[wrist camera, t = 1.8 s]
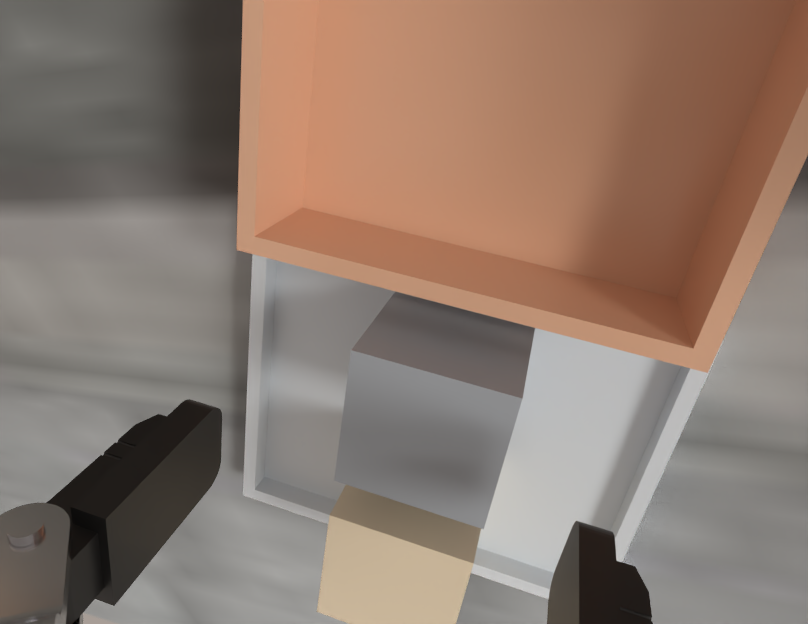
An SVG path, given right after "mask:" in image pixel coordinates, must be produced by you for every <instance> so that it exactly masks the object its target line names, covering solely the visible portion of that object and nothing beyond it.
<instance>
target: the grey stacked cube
mask: <svg viewBox="0 0 808 624" xmlns="http://www.w3.org/2000/svg"><path fill="white" fill-rule="evenodd" d="M534 331H535V328H534V327H530V326H526V325H522V324H518V323H514V322H511V321H507V320H503V319H499V318H495V317H491V316H488V315H484V314H480V313H476V312H472V311H468V310H465V309H461V308H457V307H453V306H449V305H446V304H442V303H438V302H434V301H430V300H426V299H423V298H419V297H415V296H411V295H407V294H403V293H400V292H396V291H395V293H394V294H393V295H392V297H391V298H390V299H389V300H388V302H387V303H386V304H385V306H384V307H383V308H382V310H381V311H380V312H379V314H378V315H377V316H376V318H375V319H374V320H373V322H372V323H371V324H370V326H369V327H368V328H367V330H366V331H365V332H364V334H363V335H362V336H361V338H360V339H359V340H358V342H357V343H356V344H355V346H354V347H353V348H352V350H351V355H350V362H349V370H348V378H347V385H346V393H345V401H344V408H343V416H342V424H341V431H340V439H339V447H338V454H337V462H336V469H335V477H334V481H337V482H340V483H343V484H346V485H349V486H352V487H355V488H358V489H361V490H364V491H367V492H370V493H374V494H377V495H380V496H383V497H386V498H389V499H392V500H395V501H398V502H401V503H404V504H407V505H410V506H413V507H416V508H420V509H423V510H426V511H429V512H432V513H435V514H438V515H441V516H444V517H447V518H450V519H453V520H456V521H459V522H462V523H466V524H469V525H472V526H475V527H478V528H481V529H484V527H485V523H486V520H487V517H488V513H489V510H490V507H491V503H492V500H493V496H494V493H495V490H496V486H497V483H498V480H499V476H500V473H501V469H502V466H503V463H504V459H505V456H506V453H507V449H508V446H509V442H510V439H511V436H512V432H513V429H514V426H515V422H516V419H517V415H518V412H519V409H520V405H521V402H522V399H523V393H524V387H525V382H526V376H527V371H528V365H529V359H530V354H531V348H532V343H533V337H534Z"/></svg>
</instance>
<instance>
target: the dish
mask: <svg viewBox="0 0 808 624" xmlns="http://www.w3.org/2000/svg"><path fill="white" fill-rule="evenodd" d="M807 156H808V0H243V19H242V58H241V96H240V134H239V173H238V211H237V249H236V250H239V251H243V252H246V253H250V254H254V255H258V256H262V257H266V258H269V259H273V260H277V261H281V262H285V263H289V264H292V265H296V266H300V267H304V268H308V269H312V270H315V271H319V272H323V273H327V274H331V275H334V276H338V277H342V278H346V279H350V280H354V281H357V282H361V283H365V284H369V285H373V286H377V287H380V288H384V289H388V290H392V291H396V292H400V293H403V294H407V295H411V296H415V297H419V298H423V299H426V300H430V301H434V302H438V303H442V304H446V305H449V306H453V307H457V308H461V309H465V310H468V311H472V312H476V313H480V314H484V315H488V316H491V317H495V318H499V319H503V320H507V321H511V322H514V323H518V324H522V325H526V326H530V327H534V328H537V329H541V330H545V331H549V332H553V333H557V334H560V335H564V336H568V337H572V338H576V339H580V340H583V341H587V342H591V343H595V344H599V345H603V346H606V347H610V348H614V349H618V350H622V351H625V352H629V353H633V354H637V355H641V356H645V357H648V358H652V359H656V360H660V361H664V362H668V363H671V364H675V365H679V366H683V367H687V368H691V369H694V370H698V371H702V372H706V373H708V371H709V369H710V367H711V365H712V363H713V361H714V358H715V356H716V354H717V352H718V350H719V348H720V345H721V343H722V341H723V339H724V337H725V334H726V332H727V330H728V328H729V326H730V324H731V321H732V319H733V317H734V315H735V313H736V310H737V308H738V306H739V304H740V302H741V300H742V297H743V295H744V293H745V291H746V289H747V286H748V284H749V282H750V280H751V278H752V276H753V273H754V271H755V269H756V267H757V265H758V262H759V260H760V258H761V256H762V254H763V252H764V249H765V247H766V245H767V243H768V241H769V238H770V236H771V234H772V232H773V230H774V228H775V225H776V223H777V221H778V219H779V217H780V214H781V212H782V210H783V208H784V206H785V204H786V201H787V199H788V197H789V195H790V193H791V190H792V188H793V186H794V184H795V182H796V180H797V177H798V175H799V173H800V171H801V169H802V167H803V164H804V162H805V160H806V158H807Z"/></svg>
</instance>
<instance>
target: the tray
mask: <svg viewBox="0 0 808 624" xmlns="http://www.w3.org/2000/svg"><path fill="white" fill-rule="evenodd" d="M394 293H395V291H392V290H388V289H384V288H380V287H377V286H373V285H369V284H365V283H361V282H357V281H354V280H350V279H346V278H342V277H338V276H334V275H331V274H327V273H323V272H319V271H315V270H312V269H308V268H304V267H300V266H296V265H292V264H289V263H285V262H281V261H277V260H273V259H269V258H266V257H262V256H258V255H254V254H252V276H251V301H250V327H249V352H248V378H247V403H246V429H245V454H244V480H243V496H246V497H249V498H252V499H255V500H258V501H261V502H264V503H267V504H270V505H273V506H276V507H279V508H282V509H285V510H287V511H290V512H293V513H296V514H299V515H302V516H305V517H308V518H311V519H314V520H317V521H320V522H323V523H326V524H328V523H329V515H330V513H331V511H332V510H333V508H334V506H335V504H336V502H337V500H338V498H339V497H340V495H341V493H342V491H343V489H344V487H345V485H346V484H343V483H340V482H337V481H334V477H335V469H336V462H337V454H338V447H339V439H340V431H341V424H342V416H343V408H344V401H345V393H346V385H347V378H348V370H349V362H350V355H351V350H352V348H353V347H354V346H355V344H356V343H357V342H358V340H359V339H360V338H361V336H362V335H363V334H364V332H365V331H366V330H367V328H368V327H369V326H370V324H371V323H372V322H373V320H374V319H375V318H376V316H377V315H378V314H379V312H380V311H381V310H382V308H383V307H384V306H385V304H386V303H387V302H388V300H389V299H390V298H391V297H392V295H393V294H394ZM723 342H724V339H723V341H722V343H721V345H720V348H721V346H722V344H723ZM720 348H719V350H720ZM719 350H718V352H717V354H716V356H715V358H714V361H715V359H716V357H717V355H718V353H719ZM714 361H713V363H714ZM713 363H712V365H711V367H710V369H709V371H708V373H706V372H702V371H698V370H694V369H691V368H687V367H683V366H679V365H675V364H671V363H668V362H664V361H660V360H656V359H652V358H648V357H645V356H641V355H637V354H633V353H629V352H625V351H622V350H618V349H614V348H610V347H606V346H603V345H599V344H595V343H591V342H587V341H583V340H580V339H576V338H572V337H568V336H564V335H560V334H557V333H553V332H549V331H545V330H541V329H537V328H535V331H534V337H533V343H532V348H531V354H530V359H529V365H528V371H527V376H526V382H525V387H524V393H523V399H522V402H521V405H520V409H519V412H518V415H517V419H516V422H515V426H514V429H513V432H512V436H511V439H510V442H509V446H508V449H507V453H506V456H505V459H504V463H503V466H502V469H501V473H500V476H499V480H498V483H497V486H496V490H495V493H494V496H493V500H492V503H491V507H490V510H489V513H488V517H487V520H486V523H485V527H484V529H481V531H480V536H479V541H478V545H477V550H476V555H475V559H474V564H473V567H472V571H471V573H473V574H475V575H478V576H481V577H484V578H487V579H490V580H493V581H496V582H499V583H502V584H505V585H508V586H511V587H514V588H517V589H520V590H522V591H525V592H528V593H531V594H534V595H537V596H540V597H543V598H546V599H549V592H550V587H551V582H552V578H553V575H554V571H555V569H556V566H557V564H558V561H559V559H560V556H561V554H562V551H563V549H564V546H565V544H566V541H567V539H568V536H569V534H570V531H571V529H572V526H573V524H574V523H575V521H579V522H583V523H586V524H589V525H592V526H596V527H599V528H602V529H605V530H609V531H612V532H613V533H614V536H615V548H616V561H619V562H622V561H623V559H624V557H625V555H626V553H627V550H628V548H629V546H630V544H631V542H632V540H633V537H634V535H635V533H636V531H637V529H638V527H639V524H640V522H641V520H642V518H643V516H644V514H645V511H646V509H647V507H648V505H649V503H650V500H651V498H652V496H653V494H654V492H655V490H656V487H657V485H658V483H659V481H660V479H661V477H662V474H663V472H664V470H665V468H666V466H667V463H668V461H669V459H670V457H671V455H672V453H673V450H674V448H675V446H676V444H677V442H678V440H679V437H680V435H681V433H682V431H683V429H684V427H685V424H686V422H687V420H688V418H689V416H690V413H691V411H692V409H693V407H694V405H695V403H696V400H697V398H698V396H699V394H700V392H701V390H702V387H703V385H704V383H705V381H706V379H707V376H708V374H709V372H710V370H711V368H712V366H713Z"/></svg>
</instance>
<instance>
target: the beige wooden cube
mask: <svg viewBox="0 0 808 624" xmlns="http://www.w3.org/2000/svg"><path fill="white" fill-rule="evenodd" d="M480 531H481V528H478V527H475V526H472V525H469V524H466V523H462V522H459V521H456V520H453V519H450V518H447V517H444V516H441V515H438V514H435V513H432V512H429V511H426V510H423V509H420V508H416V507H413V506H410V505H407V504H404V503H401V502H398V501H395V500H392V499H389V498H386V497H383V496H380V495H377V494H374V493H370V492H367V491H364V490H361V489H358V488H355V487H352V486H349V485H345V487H344V489H343V491H342V493H341V495H340V497H339V498H338V500H337V502H336V504H335V506H334V508H333V510H332V511H331V513H330V515H329V523H328V531H327V538H326V546H325V554H324V561H323V569H322V577H321V584H320V592H319V599H318V607H317V612H319V613H322V614H325V615H327V616H330V617H333V618H335V619H338V620H341V621H344V622H346V623H349V624H456V621H457V618H458V614H459V611H460V608H461V604H462V601H463V598H464V594H465V591H466V587H467V584H468V581H469V577H470V574H471V571H472V567H473V564H474V559H475V555H476V550H477V545H478V541H479V536H480Z"/></svg>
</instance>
